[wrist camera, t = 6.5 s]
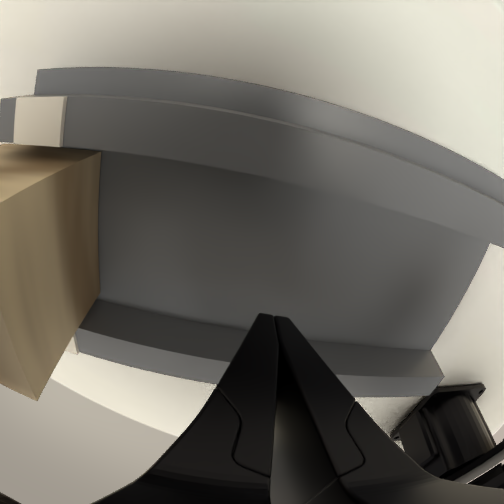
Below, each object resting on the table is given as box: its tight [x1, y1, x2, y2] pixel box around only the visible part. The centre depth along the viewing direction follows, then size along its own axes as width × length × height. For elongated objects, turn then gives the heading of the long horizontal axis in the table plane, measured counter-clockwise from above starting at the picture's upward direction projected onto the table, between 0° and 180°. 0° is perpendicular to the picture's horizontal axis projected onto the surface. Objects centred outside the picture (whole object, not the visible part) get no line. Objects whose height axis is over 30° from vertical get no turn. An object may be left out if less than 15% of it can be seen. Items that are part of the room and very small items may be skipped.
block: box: [0, 144, 101, 401], centre depth 8 cm, size 5×6×6 cm
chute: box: [0, 67, 504, 397], centre depth 11 cm, size 20×12×3 cm, turn 78°
